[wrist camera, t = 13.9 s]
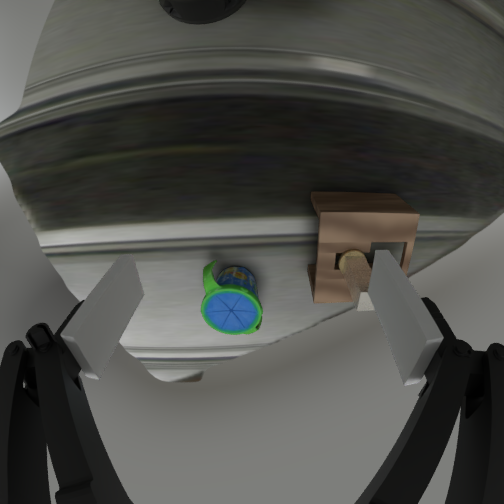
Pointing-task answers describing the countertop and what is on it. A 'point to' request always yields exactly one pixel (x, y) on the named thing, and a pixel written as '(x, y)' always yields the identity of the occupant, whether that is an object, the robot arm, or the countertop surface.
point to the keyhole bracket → (356, 235)
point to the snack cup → (231, 301)
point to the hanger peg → (356, 277)
